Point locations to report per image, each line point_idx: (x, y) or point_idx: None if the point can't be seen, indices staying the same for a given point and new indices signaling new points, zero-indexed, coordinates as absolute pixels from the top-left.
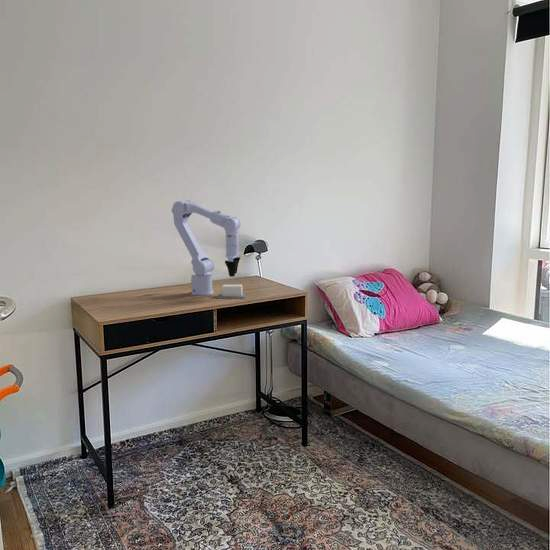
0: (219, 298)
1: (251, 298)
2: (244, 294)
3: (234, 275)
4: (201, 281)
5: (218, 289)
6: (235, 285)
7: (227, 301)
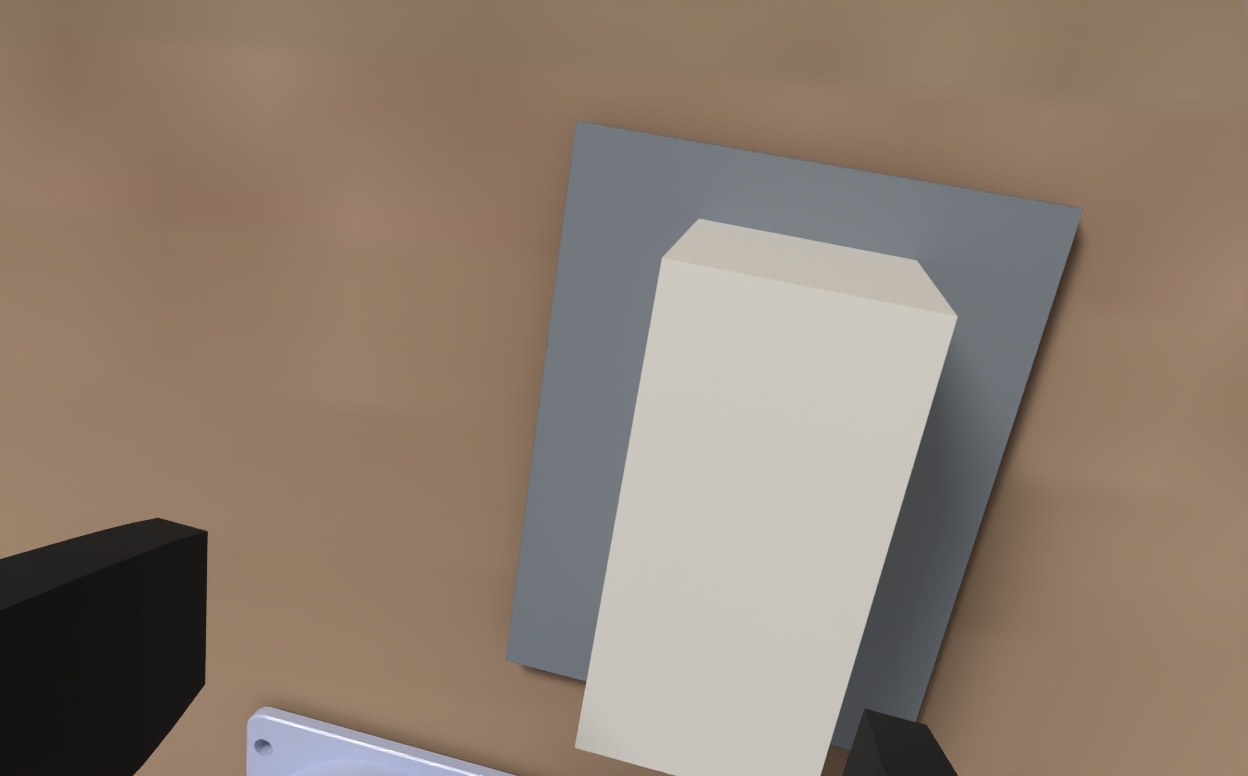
0: (913, 712)
1: (1090, 5)
2: (728, 170)
3: (933, 743)
4: None
5: None
6: (752, 473)
7: (1216, 596)
